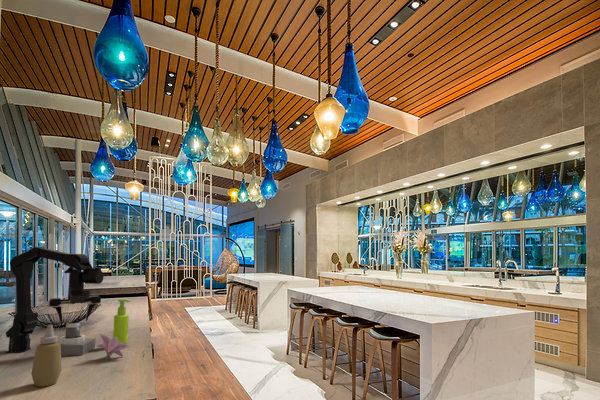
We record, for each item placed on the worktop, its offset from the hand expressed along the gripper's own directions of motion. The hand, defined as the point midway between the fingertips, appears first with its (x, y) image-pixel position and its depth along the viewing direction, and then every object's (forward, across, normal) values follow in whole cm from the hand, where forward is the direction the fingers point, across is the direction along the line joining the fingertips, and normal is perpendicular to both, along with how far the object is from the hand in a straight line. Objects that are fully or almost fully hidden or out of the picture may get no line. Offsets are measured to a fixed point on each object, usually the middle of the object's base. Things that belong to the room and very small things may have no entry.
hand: (73, 321), depth 164 cm
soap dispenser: (+12, +19, -1) cm, 22 cm away
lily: (+12, +11, -21) cm, 27 cm away
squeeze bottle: (+12, -11, -41) cm, 44 cm away
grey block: (+8, 0, 0) cm, 8 cm away
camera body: (+12, 0, 0) cm, 12 cm away
